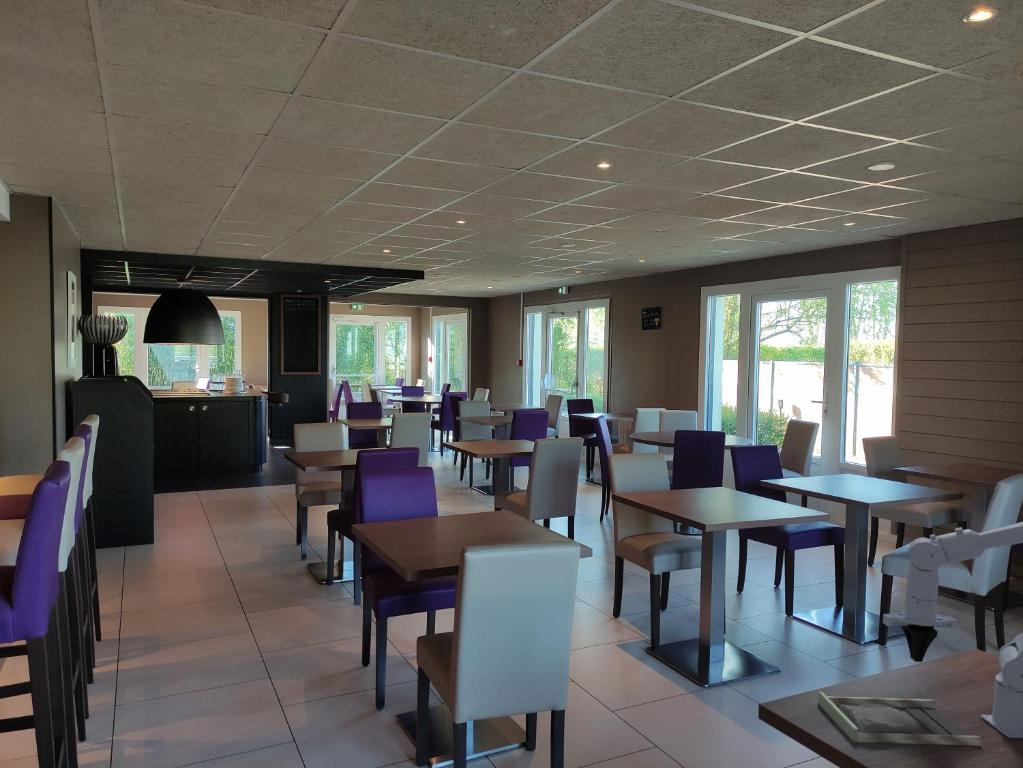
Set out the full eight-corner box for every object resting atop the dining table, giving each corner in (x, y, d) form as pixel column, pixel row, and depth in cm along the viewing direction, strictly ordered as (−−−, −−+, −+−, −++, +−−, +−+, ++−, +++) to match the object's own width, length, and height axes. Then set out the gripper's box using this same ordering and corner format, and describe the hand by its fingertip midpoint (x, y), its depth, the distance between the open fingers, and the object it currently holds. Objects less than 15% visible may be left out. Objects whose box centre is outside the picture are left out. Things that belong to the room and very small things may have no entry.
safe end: (821, 703, 148) (822, 691, 148) (857, 741, 134) (858, 729, 134) (817, 703, 148) (818, 691, 148) (853, 741, 134) (854, 728, 134)
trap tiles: (934, 709, 148) (934, 708, 148) (975, 742, 136) (975, 741, 136) (903, 708, 148) (903, 707, 148) (941, 741, 136) (941, 740, 136)
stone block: (831, 725, 144) (861, 743, 134) (831, 700, 144) (861, 716, 134) (886, 727, 145) (920, 744, 135) (885, 702, 146) (919, 717, 136)
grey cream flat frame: (932, 707, 149) (933, 699, 149) (980, 745, 135) (981, 737, 135) (821, 703, 148) (822, 696, 148) (857, 741, 134) (858, 733, 134)
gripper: (943, 591, 154) (937, 652, 154) (877, 588, 153) (872, 650, 154) (965, 602, 147) (959, 667, 147) (895, 600, 146) (890, 665, 147)
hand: (916, 659), depth 150 cm, fingers closed
